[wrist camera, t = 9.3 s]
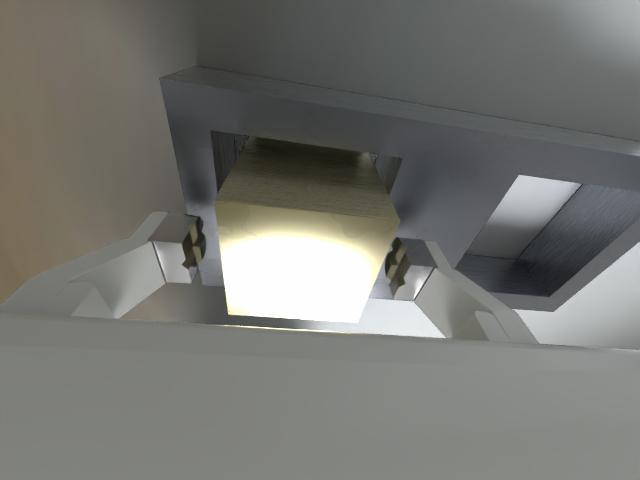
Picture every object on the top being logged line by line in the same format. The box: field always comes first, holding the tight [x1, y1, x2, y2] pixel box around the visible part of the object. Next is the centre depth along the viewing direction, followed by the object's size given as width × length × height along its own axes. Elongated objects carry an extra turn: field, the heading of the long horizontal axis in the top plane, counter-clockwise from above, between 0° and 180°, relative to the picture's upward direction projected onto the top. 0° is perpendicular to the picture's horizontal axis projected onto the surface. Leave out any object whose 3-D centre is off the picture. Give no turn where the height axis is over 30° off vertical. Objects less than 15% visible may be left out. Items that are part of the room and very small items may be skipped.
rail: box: [159, 66, 640, 312], centre depth 12 cm, size 20×9×3 cm, turn 81°
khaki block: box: [214, 136, 401, 323], centre depth 11 cm, size 5×5×6 cm
